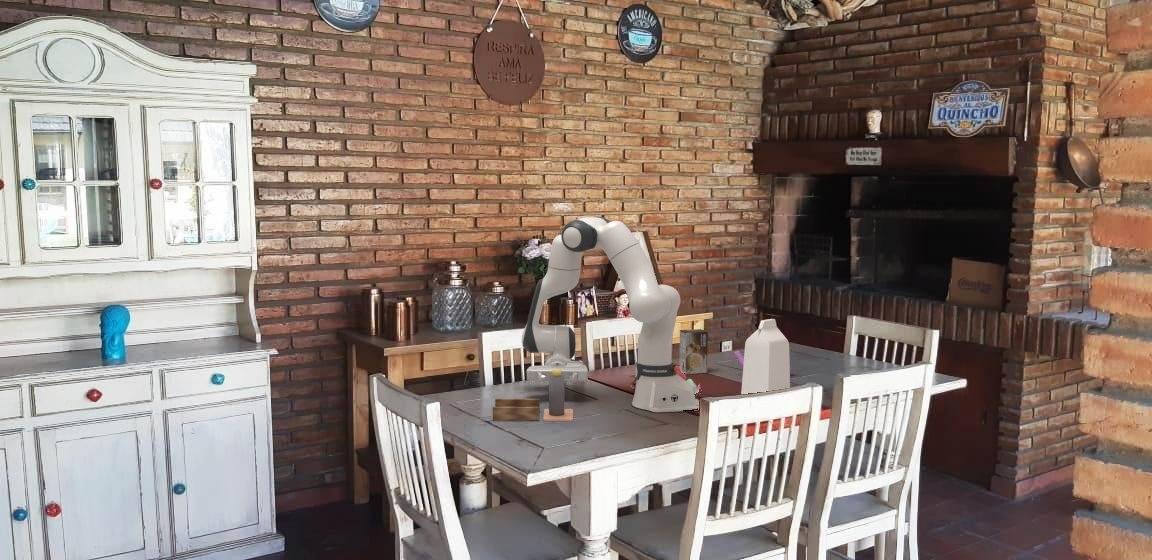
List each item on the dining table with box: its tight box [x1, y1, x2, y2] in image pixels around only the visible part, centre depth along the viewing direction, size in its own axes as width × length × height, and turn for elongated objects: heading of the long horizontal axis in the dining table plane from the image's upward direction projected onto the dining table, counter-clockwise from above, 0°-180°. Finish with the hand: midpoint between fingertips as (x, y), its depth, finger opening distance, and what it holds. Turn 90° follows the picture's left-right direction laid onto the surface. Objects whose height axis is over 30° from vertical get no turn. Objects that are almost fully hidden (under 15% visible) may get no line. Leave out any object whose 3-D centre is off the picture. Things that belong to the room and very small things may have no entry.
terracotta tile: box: [543, 408, 574, 422], centre depth 279 cm, size 9×12×1 cm
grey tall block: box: [548, 369, 565, 416], centre depth 278 cm, size 5×5×14 cm
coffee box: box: [679, 328, 709, 375], centre depth 342 cm, size 9×6×16 cm
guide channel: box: [492, 398, 541, 422], centre depth 278 cm, size 14×11×4 cm
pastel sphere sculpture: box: [630, 371, 701, 394], centre depth 314 cm, size 25×24×9 cm
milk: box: [740, 318, 791, 395], centre depth 307 cm, size 12×12×26 cm
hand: (557, 378), depth 290 cm, fingers open, 8 cm apart
